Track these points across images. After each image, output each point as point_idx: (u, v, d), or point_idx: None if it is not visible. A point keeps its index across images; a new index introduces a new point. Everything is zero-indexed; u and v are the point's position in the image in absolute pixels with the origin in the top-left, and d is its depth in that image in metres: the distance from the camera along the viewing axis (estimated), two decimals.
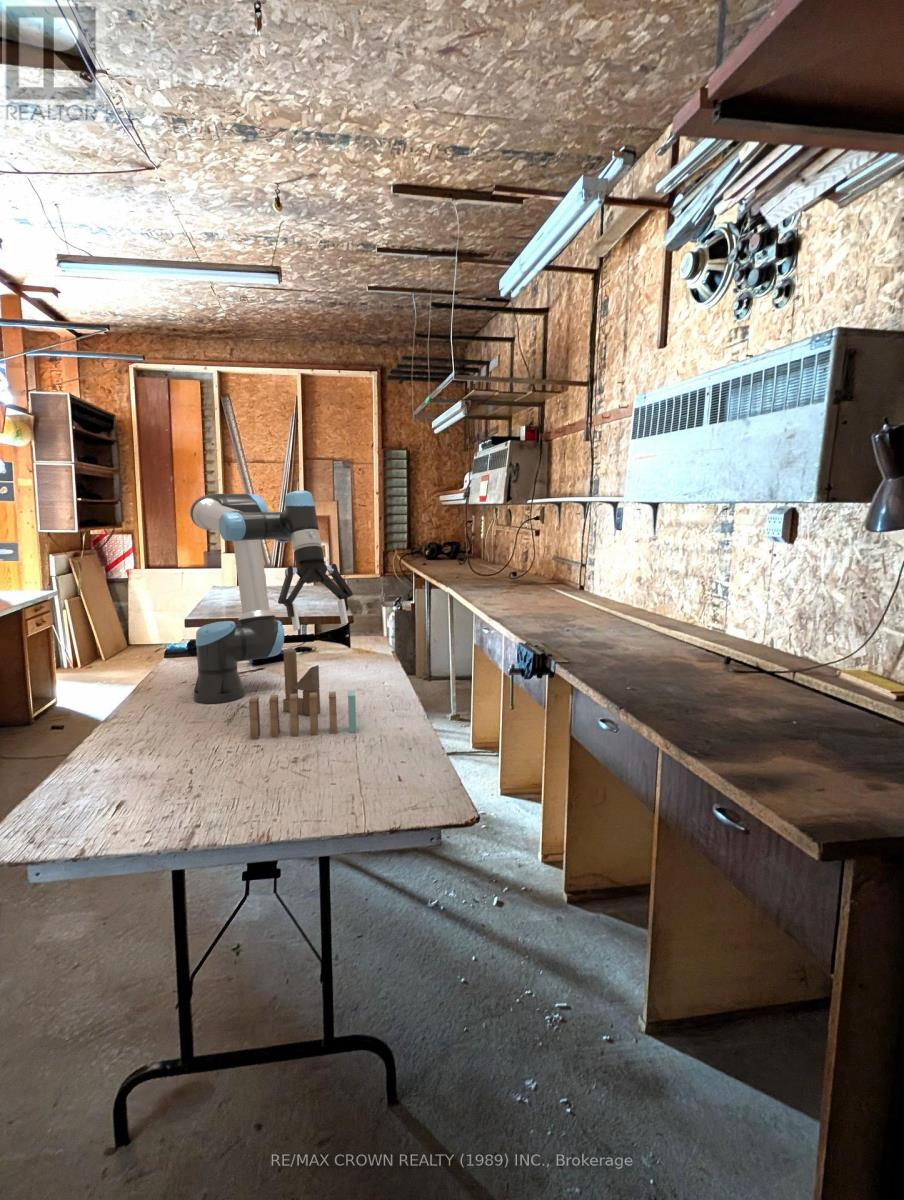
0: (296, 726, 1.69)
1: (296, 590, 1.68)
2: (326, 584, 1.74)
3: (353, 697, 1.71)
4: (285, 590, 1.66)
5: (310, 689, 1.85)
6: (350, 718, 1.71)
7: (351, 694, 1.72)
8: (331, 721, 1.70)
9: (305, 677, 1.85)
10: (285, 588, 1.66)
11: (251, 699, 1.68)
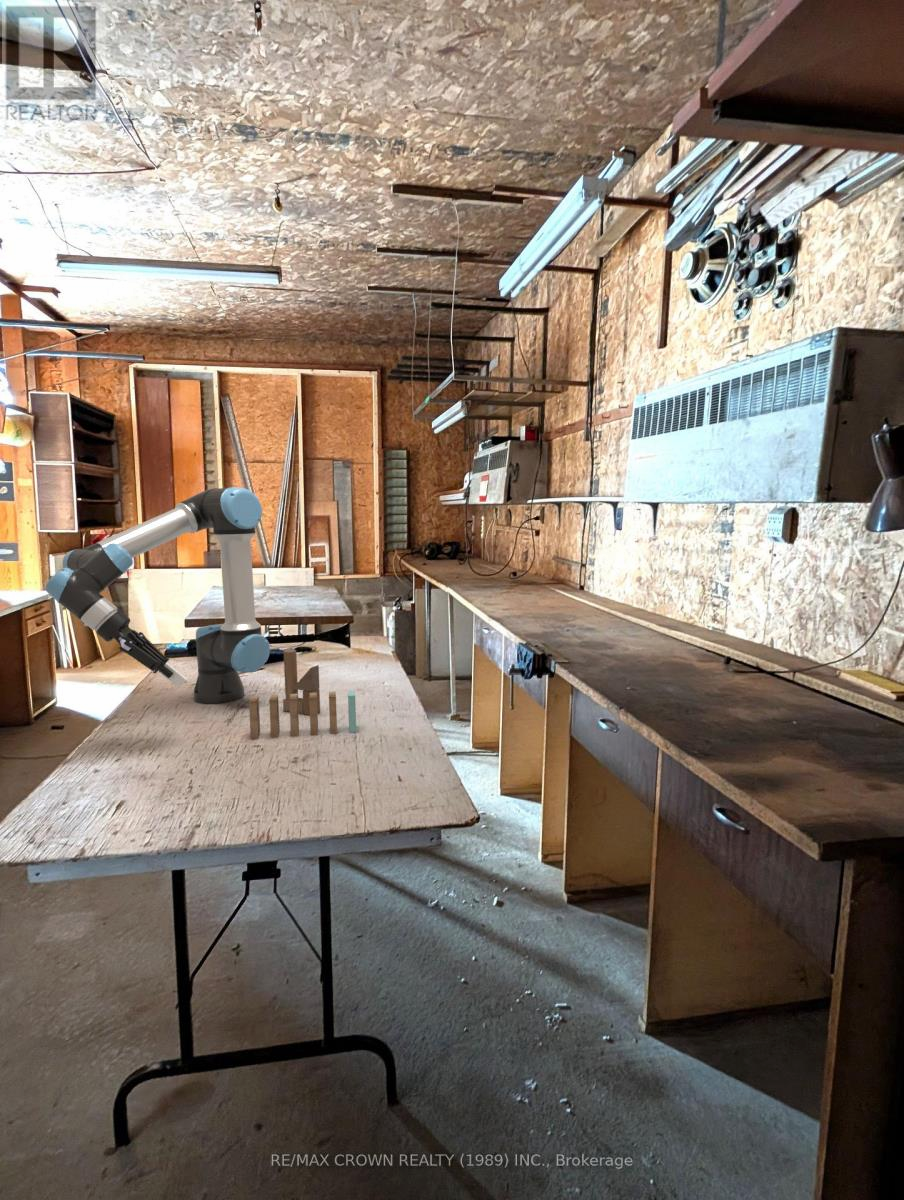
0: (296, 726, 1.69)
1: None
2: None
3: (353, 697, 1.71)
4: None
5: (310, 689, 1.85)
6: (350, 718, 1.71)
7: (351, 694, 1.72)
8: (331, 721, 1.70)
9: (305, 677, 1.85)
10: None
11: (251, 699, 1.68)
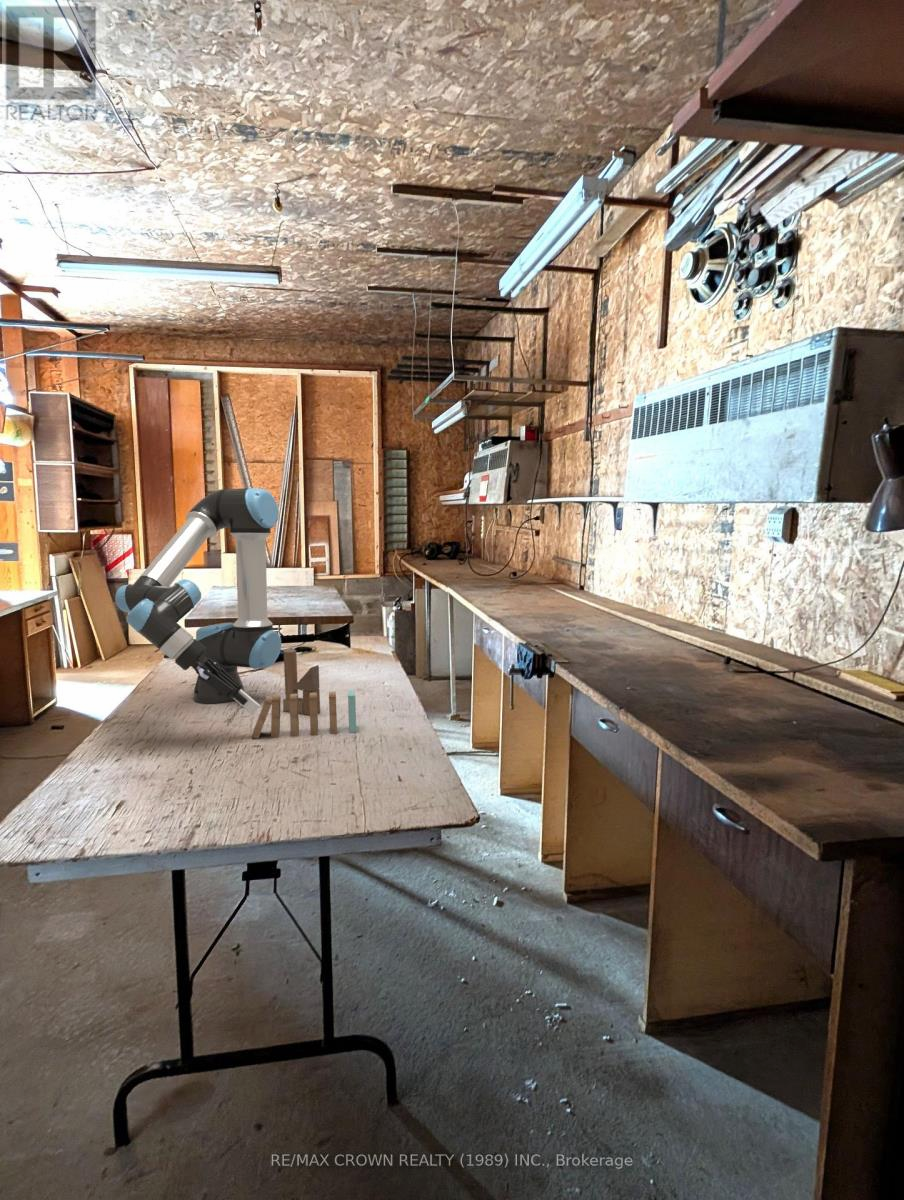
0: (296, 726, 1.69)
1: None
2: None
3: (353, 697, 1.71)
4: None
5: (310, 689, 1.85)
6: (350, 718, 1.71)
7: (351, 694, 1.72)
8: (331, 721, 1.70)
9: (305, 677, 1.85)
10: None
11: (267, 699, 1.69)
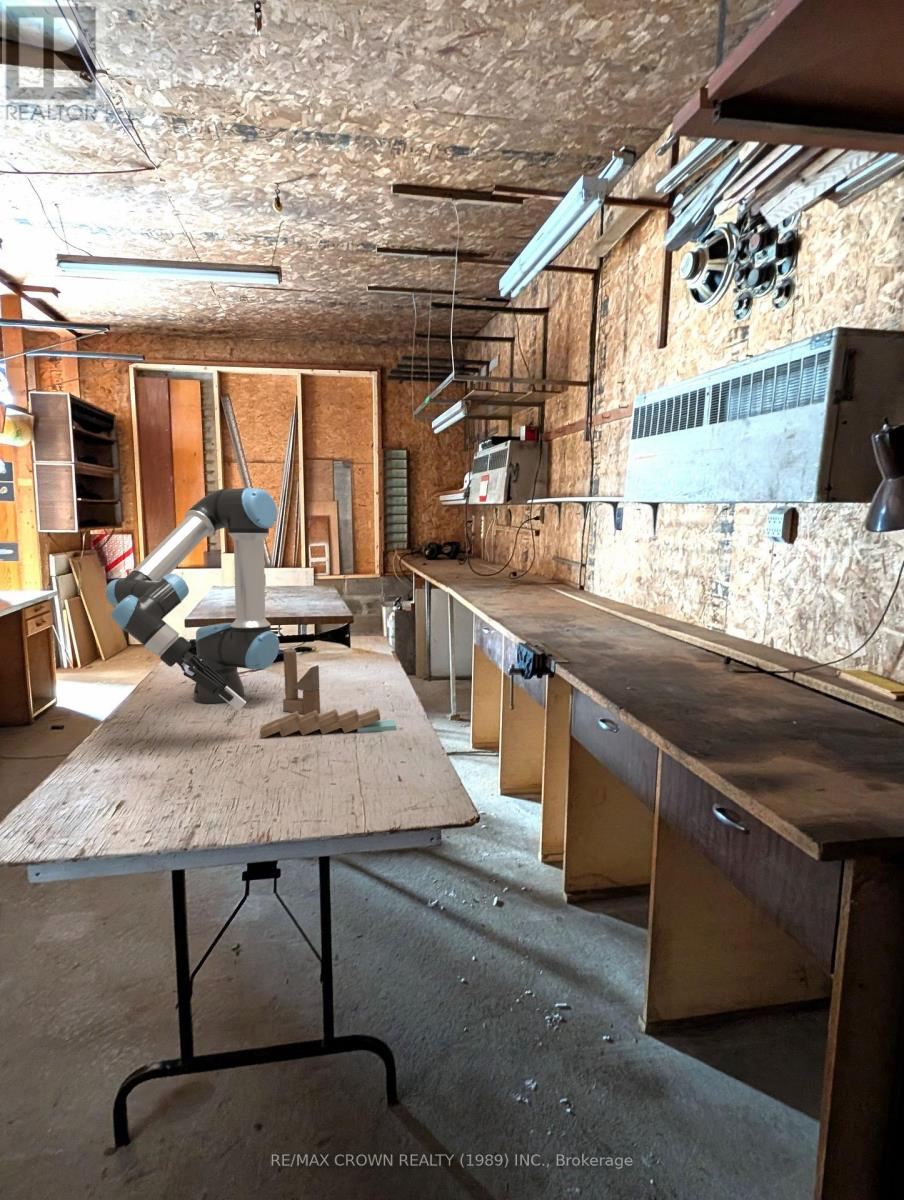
0: (311, 730, 1.70)
1: None
2: None
3: None
4: None
5: (310, 689, 1.85)
6: (372, 728, 1.72)
7: None
8: (354, 724, 1.71)
9: (305, 677, 1.85)
10: None
11: (297, 715, 1.71)
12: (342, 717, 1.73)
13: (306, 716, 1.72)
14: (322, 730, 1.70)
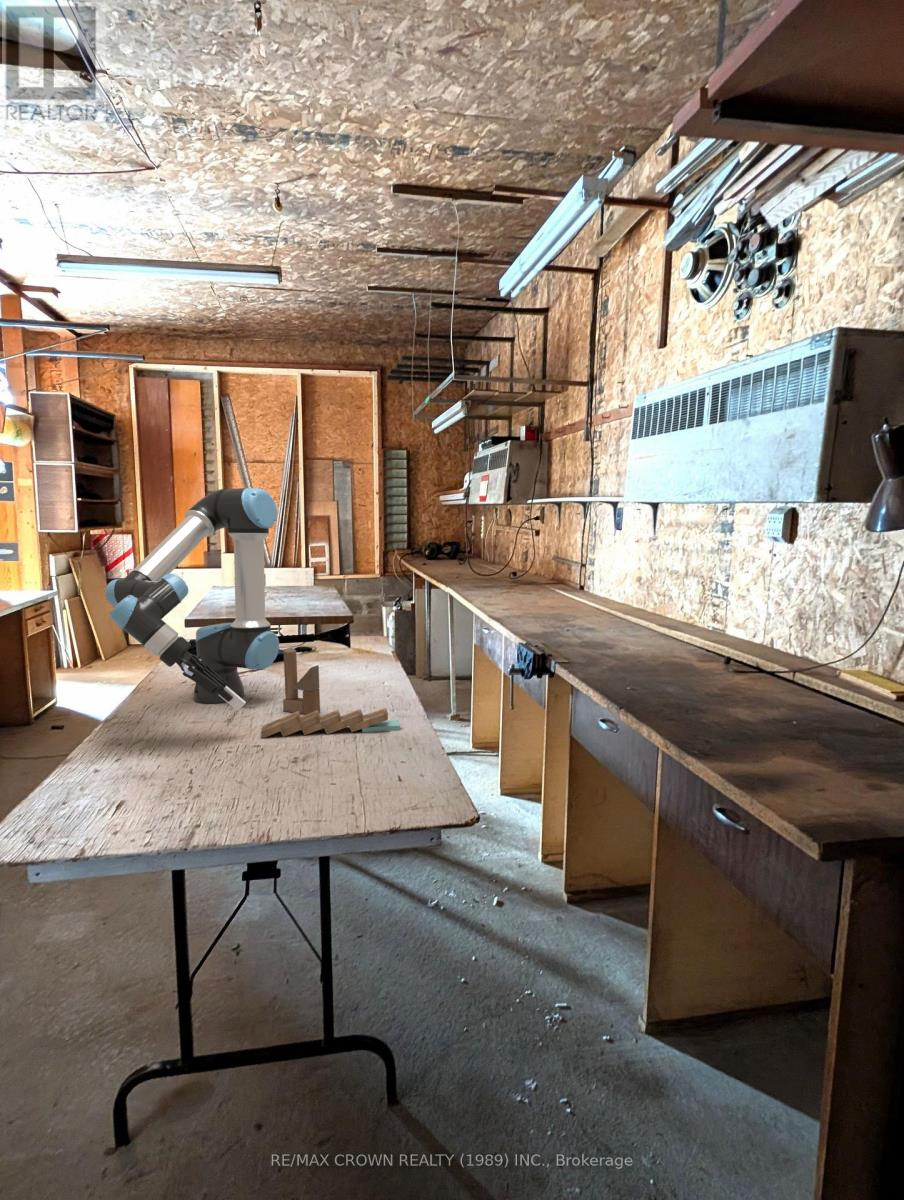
0: (313, 730, 1.70)
1: None
2: None
3: None
4: None
5: (310, 689, 1.85)
6: (376, 728, 1.73)
7: None
8: (362, 723, 1.71)
9: (305, 677, 1.85)
10: None
11: (298, 715, 1.71)
12: (347, 717, 1.73)
13: (307, 716, 1.72)
14: (327, 730, 1.70)
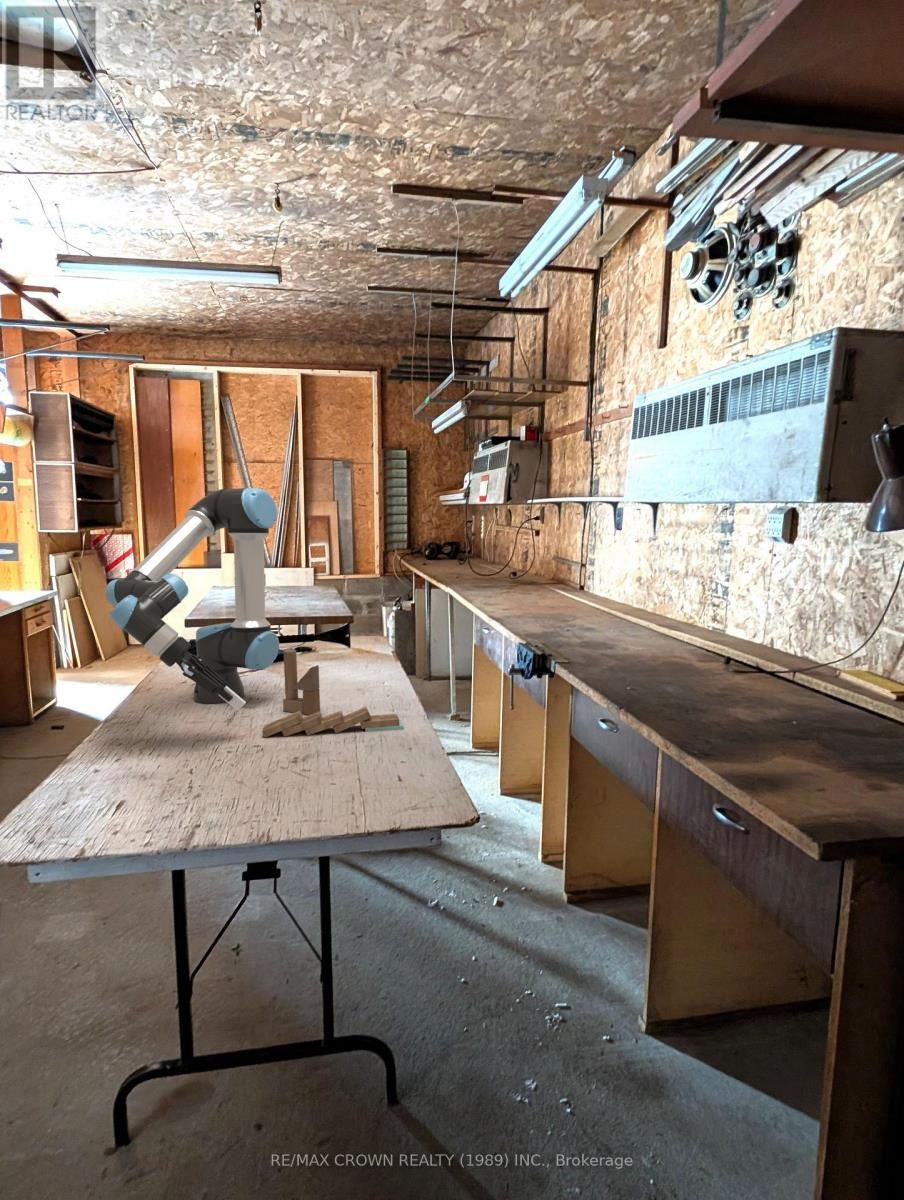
0: (316, 731, 1.70)
1: None
2: None
3: None
4: None
5: (310, 689, 1.85)
6: (380, 729, 1.73)
7: None
8: (374, 722, 1.73)
9: (305, 677, 1.85)
10: None
11: (299, 715, 1.71)
12: (354, 715, 1.74)
13: (309, 717, 1.72)
14: (335, 729, 1.71)
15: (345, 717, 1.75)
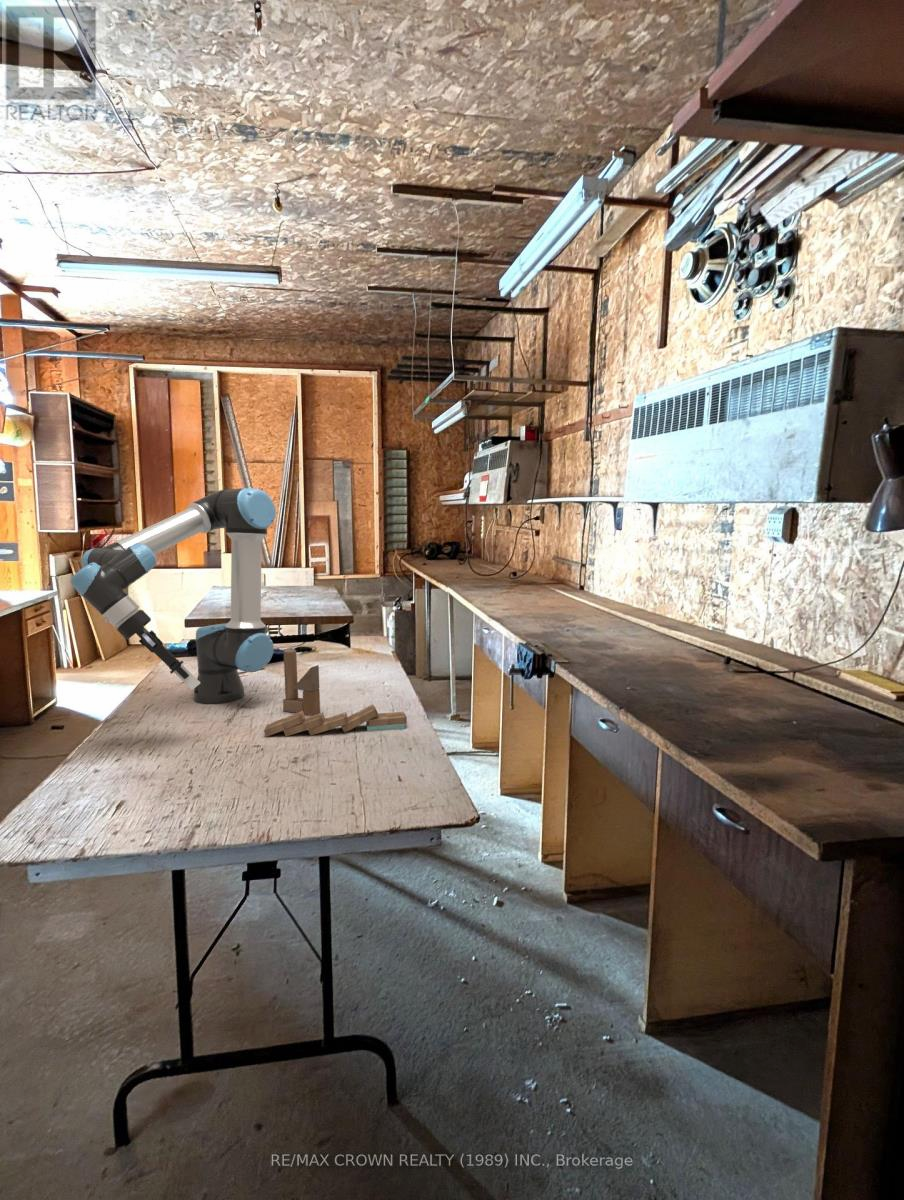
0: (319, 731, 1.70)
1: None
2: None
3: None
4: None
5: (310, 689, 1.85)
6: (381, 727, 1.73)
7: None
8: (381, 720, 1.73)
9: (305, 677, 1.85)
10: None
11: (301, 715, 1.71)
12: (361, 713, 1.74)
13: (311, 717, 1.72)
14: (344, 728, 1.71)
15: (353, 716, 1.75)
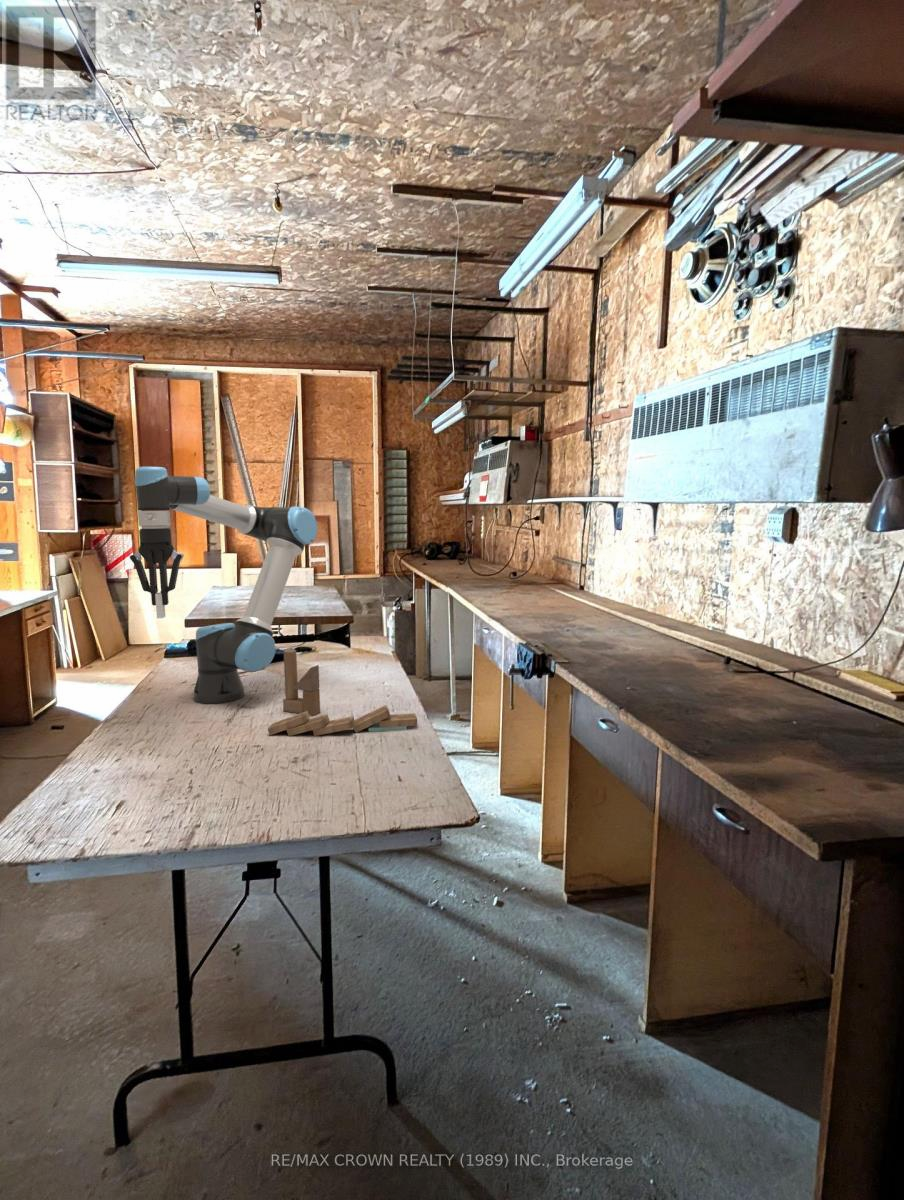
0: (323, 733, 1.69)
1: (151, 578, 1.69)
2: None
3: None
4: (141, 579, 1.69)
5: (310, 689, 1.85)
6: (383, 728, 1.73)
7: None
8: (392, 722, 1.73)
9: (305, 677, 1.85)
10: (140, 578, 1.69)
11: (305, 715, 1.71)
12: (374, 714, 1.74)
13: (315, 718, 1.72)
14: (355, 728, 1.71)
15: (365, 716, 1.75)
